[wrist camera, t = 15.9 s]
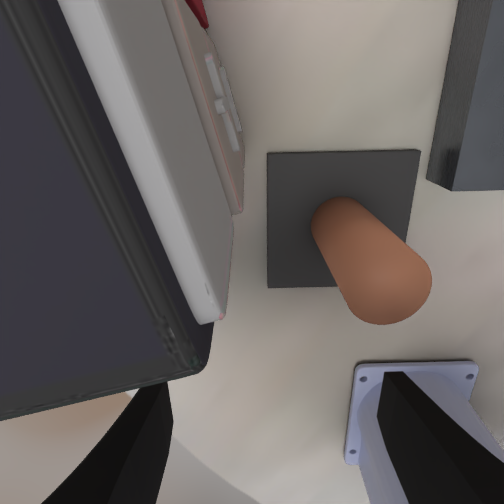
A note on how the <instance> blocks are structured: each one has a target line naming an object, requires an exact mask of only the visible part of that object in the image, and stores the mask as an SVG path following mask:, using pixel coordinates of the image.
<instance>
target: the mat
mask: <svg viewBox="0 0 504 504" xmlns="http://www.w3.org/2000/svg"><path fill="white" fill-rule="evenodd" d="M420 155H421V151H420V150H373V151H328V152H283V153H267V284H268V288H294V287H335V286H338V285H337V283H336V281H335V279H334V277H333V275H332V273H331V271H330V269H329V267H328V265H327V263H326V261H325V259H324V257H323V255H322V253H321V251H320V249H319V247H318V245H317V243H316V241H315V240H314V238H313V235H312V232H311V220H312V217H313V215H314V213H315V211H316V210H317V208H318V207H319V206H320V205H321V204H322V203H324V202H325V201H327V200H329V199H332V198H335V197H349V198H352V199H354V200H356V201H358V202H359V203H360V204H361V205H362V206H363V207H365V208H366V209H367V210H368V211H369V212H370V213H371V214H372V215H374V216H375V217H376V218H377V219H378V220H379V221H380V222H382V223H383V224H384V225H385V226H386V227H387V228H388V229H389V230H391V231H392V232H393V233H394V234H395V235H396V236H397V237H399V238H400V239H401V240H402V241H403V242H404V243H405V242H406V236H407V230H408V225H409V219H410V213H411V207H412V201H413V196H414V190H415V184H416V178H417V173H418V167H419V161H420Z"/></svg>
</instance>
